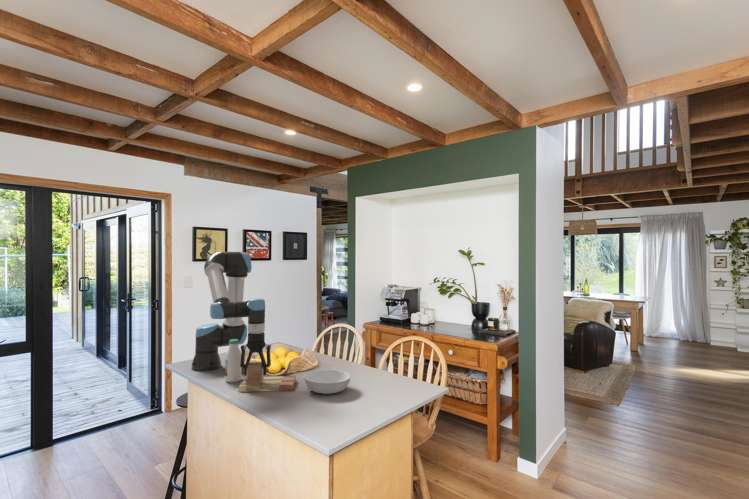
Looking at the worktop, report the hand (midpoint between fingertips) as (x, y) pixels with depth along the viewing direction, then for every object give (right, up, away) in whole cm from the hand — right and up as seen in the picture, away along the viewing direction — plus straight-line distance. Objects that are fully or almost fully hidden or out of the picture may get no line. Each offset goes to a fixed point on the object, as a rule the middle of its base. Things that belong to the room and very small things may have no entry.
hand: (255, 382), depth 180 cm
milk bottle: (-15, -3, +12) cm, 19 cm away
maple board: (+5, -3, +3) cm, 7 cm away
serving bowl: (+34, -4, -2) cm, 34 cm away
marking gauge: (0, -2, -1) cm, 2 cm away
